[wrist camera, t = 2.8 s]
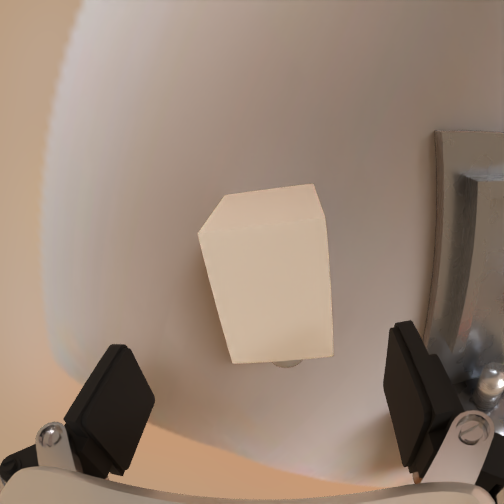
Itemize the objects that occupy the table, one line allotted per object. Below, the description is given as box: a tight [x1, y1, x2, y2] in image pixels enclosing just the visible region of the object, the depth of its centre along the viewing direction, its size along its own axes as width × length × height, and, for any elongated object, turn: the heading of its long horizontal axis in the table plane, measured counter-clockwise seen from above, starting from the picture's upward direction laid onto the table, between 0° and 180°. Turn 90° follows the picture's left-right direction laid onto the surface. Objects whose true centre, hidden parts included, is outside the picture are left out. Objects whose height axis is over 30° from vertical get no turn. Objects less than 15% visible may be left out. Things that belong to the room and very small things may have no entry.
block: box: [198, 183, 333, 368], centre depth 17 cm, size 9×5×6 cm, turn 10°
